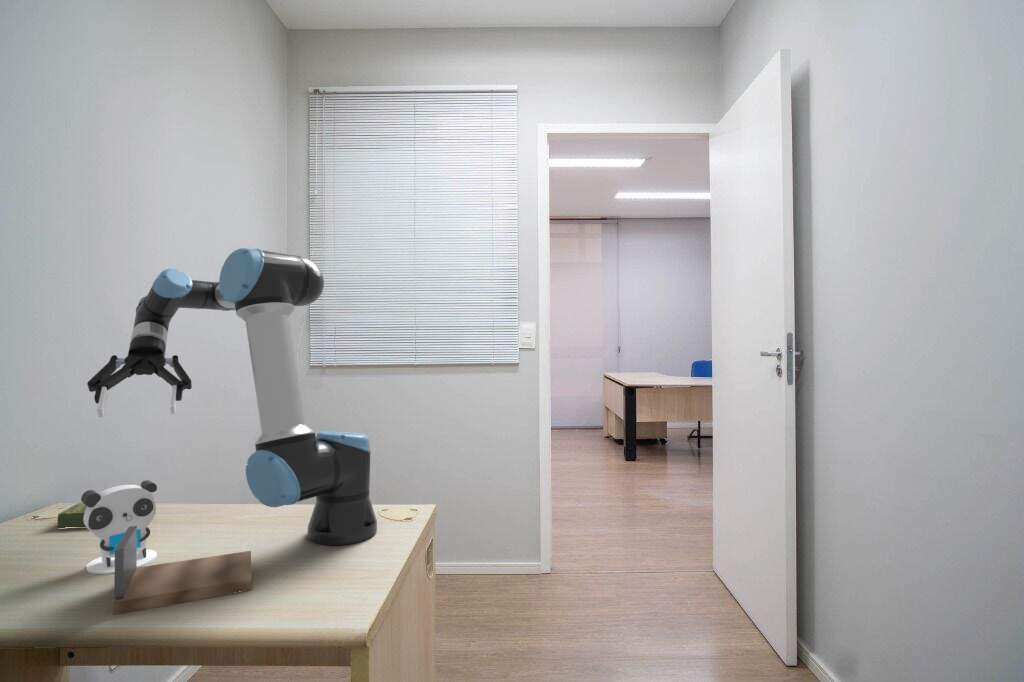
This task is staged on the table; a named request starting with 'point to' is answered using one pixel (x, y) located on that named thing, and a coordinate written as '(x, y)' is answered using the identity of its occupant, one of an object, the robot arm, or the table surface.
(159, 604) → the shelf board
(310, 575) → the table surface
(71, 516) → the carton
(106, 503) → the panda figurine
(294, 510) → the table surface
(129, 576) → the bookend
